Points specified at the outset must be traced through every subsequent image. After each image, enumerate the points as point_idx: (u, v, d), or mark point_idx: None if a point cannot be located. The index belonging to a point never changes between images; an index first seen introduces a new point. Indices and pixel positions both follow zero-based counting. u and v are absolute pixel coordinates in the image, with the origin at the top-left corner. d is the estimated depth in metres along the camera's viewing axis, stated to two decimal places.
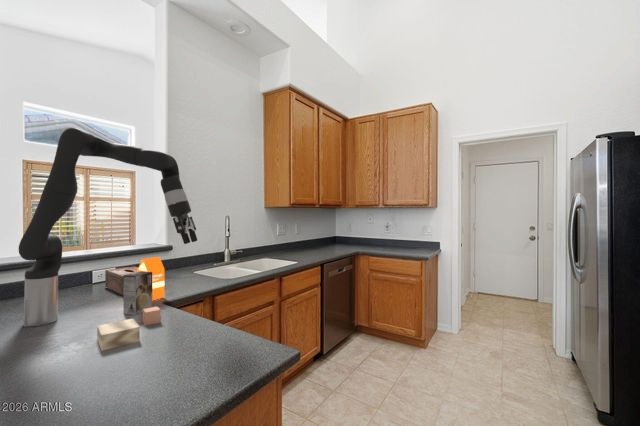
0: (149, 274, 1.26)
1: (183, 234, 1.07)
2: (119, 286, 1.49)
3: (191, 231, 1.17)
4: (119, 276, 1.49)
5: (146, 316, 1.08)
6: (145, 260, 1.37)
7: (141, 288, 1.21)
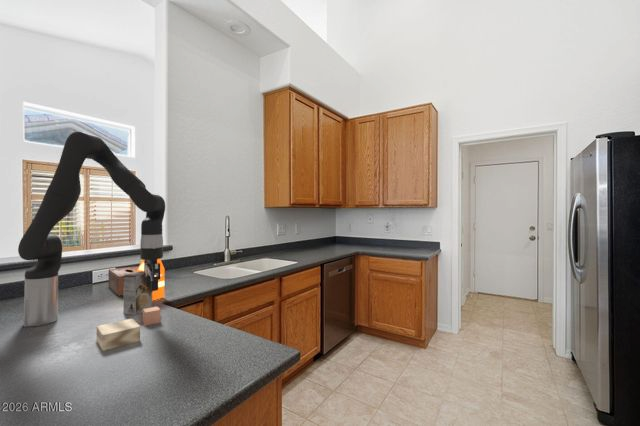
0: None
1: (155, 281, 1.07)
2: (116, 286, 1.49)
3: (149, 275, 1.14)
4: (116, 276, 1.49)
5: (146, 316, 1.08)
6: None
7: (141, 288, 1.21)
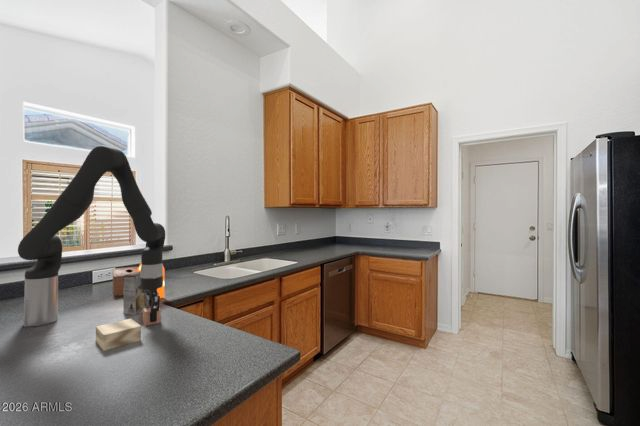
0: None
1: (154, 313, 1.08)
2: None
3: None
4: (113, 276, 1.49)
5: (146, 316, 1.08)
6: None
7: None
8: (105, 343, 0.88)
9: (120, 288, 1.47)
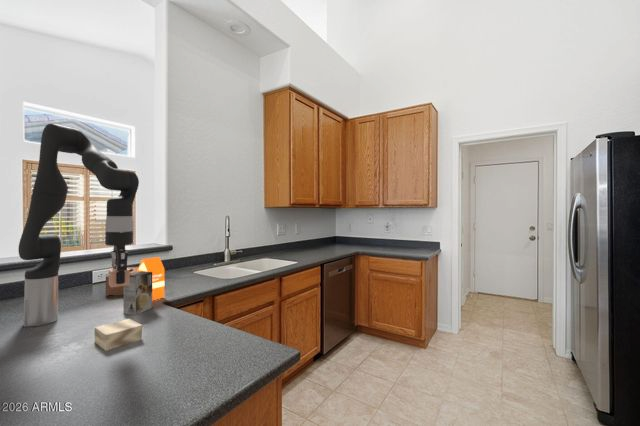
0: (149, 274, 1.26)
1: (121, 273, 0.92)
2: None
3: None
4: None
5: (112, 276, 0.92)
6: (145, 260, 1.37)
7: (141, 288, 1.21)
8: (107, 343, 0.88)
9: (112, 288, 1.46)
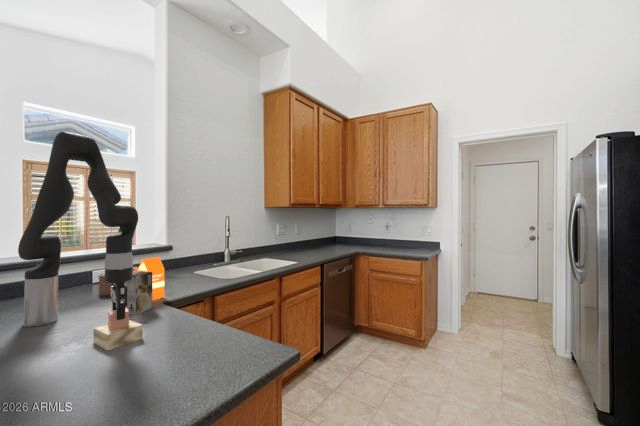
0: (149, 274, 1.26)
1: (121, 308, 0.91)
2: None
3: None
4: None
5: (111, 319, 0.92)
6: (145, 260, 1.37)
7: (141, 288, 1.21)
8: (109, 343, 0.88)
9: (105, 288, 1.47)
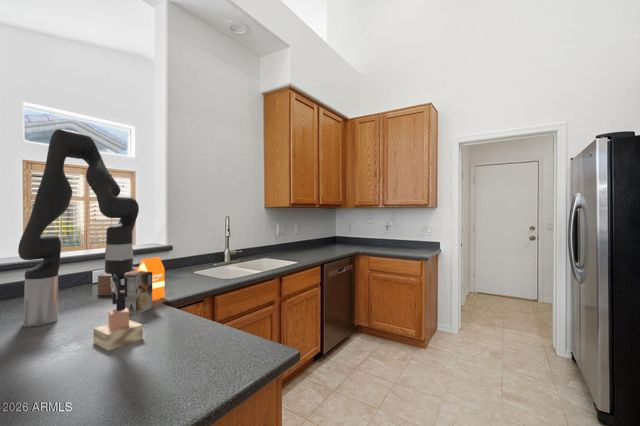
0: (149, 274, 1.26)
1: (121, 299, 0.91)
2: None
3: None
4: None
5: (111, 319, 0.92)
6: (145, 260, 1.37)
7: (141, 288, 1.21)
8: (109, 343, 0.88)
9: (103, 288, 1.47)
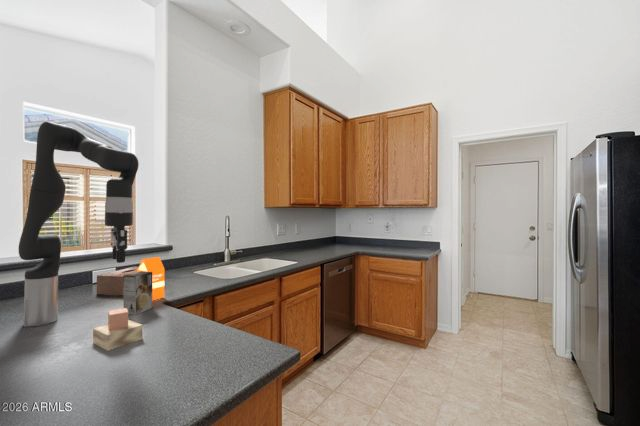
0: (149, 274, 1.26)
1: (121, 251, 0.91)
2: None
3: None
4: None
5: (110, 319, 0.92)
6: (145, 260, 1.37)
7: (141, 288, 1.21)
8: (109, 343, 0.88)
9: (102, 287, 1.47)
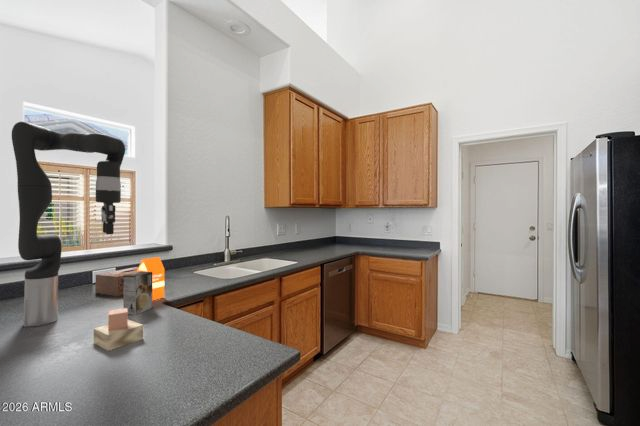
0: (149, 274, 1.26)
1: (110, 224, 1.04)
2: None
3: None
4: None
5: (109, 319, 0.91)
6: (145, 260, 1.37)
7: (141, 288, 1.21)
8: (110, 343, 0.88)
9: (100, 287, 1.49)
